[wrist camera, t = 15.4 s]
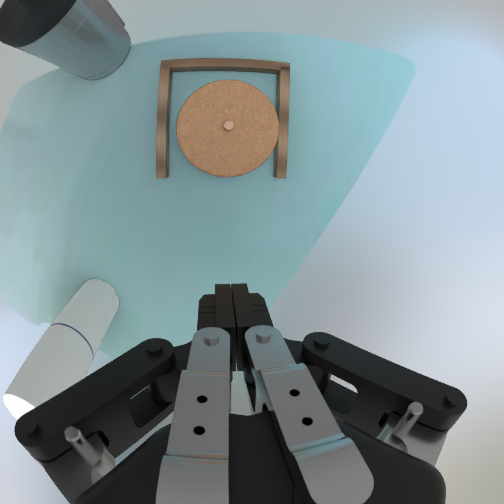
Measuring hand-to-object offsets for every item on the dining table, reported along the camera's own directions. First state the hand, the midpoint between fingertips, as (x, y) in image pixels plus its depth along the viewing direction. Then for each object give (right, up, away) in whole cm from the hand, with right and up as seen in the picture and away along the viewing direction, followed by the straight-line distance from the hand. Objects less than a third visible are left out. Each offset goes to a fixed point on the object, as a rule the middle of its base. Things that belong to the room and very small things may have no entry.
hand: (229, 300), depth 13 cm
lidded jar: (-2, +18, +20) cm, 27 cm away
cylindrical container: (-23, -5, +26) cm, 35 cm away
